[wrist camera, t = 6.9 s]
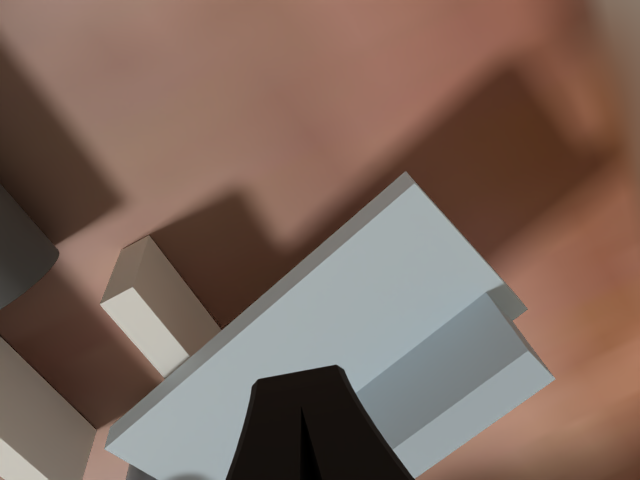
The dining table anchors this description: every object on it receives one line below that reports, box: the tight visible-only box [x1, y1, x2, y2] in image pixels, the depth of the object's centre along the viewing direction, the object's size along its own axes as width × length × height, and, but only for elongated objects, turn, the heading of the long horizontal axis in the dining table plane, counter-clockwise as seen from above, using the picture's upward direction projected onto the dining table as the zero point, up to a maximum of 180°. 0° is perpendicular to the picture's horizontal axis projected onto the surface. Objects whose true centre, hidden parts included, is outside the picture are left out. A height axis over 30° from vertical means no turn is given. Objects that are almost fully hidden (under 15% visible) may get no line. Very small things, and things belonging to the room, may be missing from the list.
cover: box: [104, 171, 555, 480], centre depth 14 cm, size 11×5×3 cm, turn 132°
